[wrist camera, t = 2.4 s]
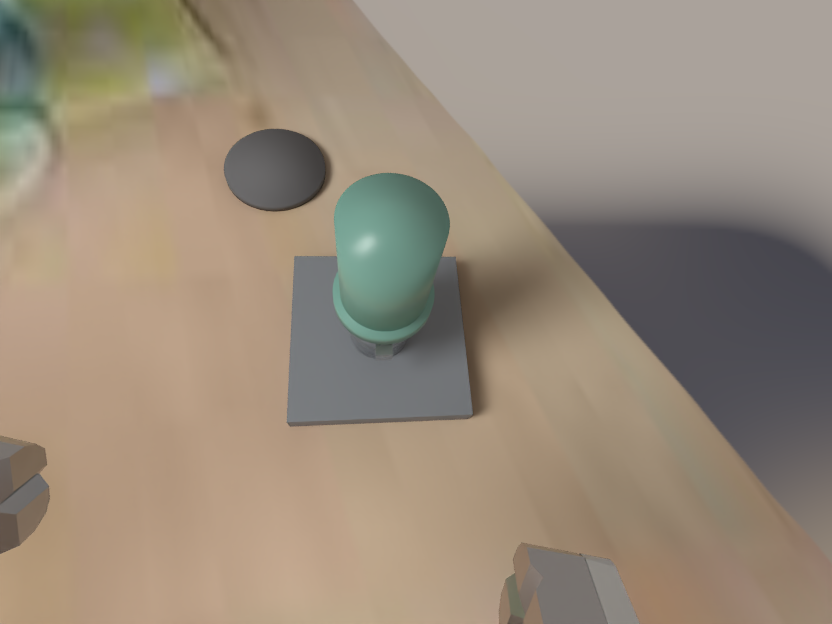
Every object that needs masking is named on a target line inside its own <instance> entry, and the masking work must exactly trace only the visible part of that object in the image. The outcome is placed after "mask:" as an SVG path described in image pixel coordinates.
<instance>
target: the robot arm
mask: <svg viewBox="0 0 832 624" xmlns="http://www.w3.org/2000/svg"><path fill="white" fill-rule="evenodd" d="M46 466H47V459H46V452H45V448H43V447H41V446H39V445H37V444H35V443H30V442H26V441H22V440H17V439H13V438H9V437H4V436H0V554H1V553H3V552H6V551H8V550H10V549H12V548H15V547H17V546H19V545H21V544H22V543H23V542H24V541H25V540H26V539H27V538H28V537H29V536H30V535H31V534H32V533H33V532H34V531H35V530H36V528H37V527H38V525H39V523H40V522H41V520H42V518H43V517H44V515H45V514H46V511H47V508H48V504H49V500H50V493H49V486H48V484H47V483H46V482H45V480H44V479H43V478H42V477H41V475H40V474H39V473H40V472H41V471H42V470H43V469H44V468H45V467H46ZM513 563H514V570H515V573H514V574H513V575H511V576H510V577H508V578H507V579H506V580H505V583H504V587H503V590H502V593H501V599H500V606H499V624H640V623H639V620H638V618H637V616H636V613H635V611H634V609H633V606H632V604H631V602H630V599H629V597H628V594H627V592H626V590H625V587H624V585H623V583H622V580H621V578H620V576H619V573H618V571H617V568H616V566H615V564H614V563H613V562H612V561H611V560H610V559H606V558H601V557H596V556H590V555H585V554H577V553H573V552H568V551H563V550H558V549H552V548H547V547H542V546H537V545H532V544H527V543H521V544H520V545H519V546H518V548H517V550H516V552H515V555H514V558H513Z"/></svg>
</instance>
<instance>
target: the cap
mask: <svg viewBox="0 0 832 624" xmlns="http://www.w3.org/2000/svg"><path fill="white" fill-rule="evenodd" d="M334 225H335V237H336V250H337V263H338V272H337V274H336V276H335V279H334V283H333V302H334V308H335V311H336V314H337V317H338V318H339V320H340V322H341V323H342V325H343V326H344V327H345V328H346V329H347V330H348V331H349V332H350V333H351V334H353V335H354V336H356V337H357V338H359V339H361V340H364V341H366V342H370V343H374V344H384V345H386V344H394V343H399V342H402V341H404V340H406V339H408V338H410V337H412V336H413V335H415V334H416V333H417V332H418V331H419V330H420V329H421V328H422V327H423V326H424V325H425V323H426V321H427V320H428V317H429V315H430V312H431V310H432V307H433V303H434V297H435V292H434V284H433V281H434V278H435V275H436V272H437V269H438V266H439V262H440V259H441V256H442V253H443V250H444V247H445V244H446V241H447V238H448V234H449V228H450V220H449V215H448V211H447V208H446V206H445V204H444V202H443V201H442V199H441V198H440V196H439V195H438V194H437V193H436V192H435V191H434V190H433V189H432V188H431V187H429V186H428V185H426V184H425V183H423V182H422V181H420V180H418V179H415V178H413V177H410V176H407V175H402V174H396V173H381V174H375V175H371V176H368V177H365V178H362V179H360V180H358V181H357V182H355V183H354V184H352V185H351V186H350V187H349V188H347V189H346V190H345V192H344V193H343V194H342V195H341V197H340V199H339V200H338V203H337V205H336V209H335V213H334Z"/></svg>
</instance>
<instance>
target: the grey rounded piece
mask: <svg viewBox="0 0 832 624" xmlns="http://www.w3.org/2000/svg"><path fill="white" fill-rule="evenodd" d="M350 334H351V333H350ZM351 339H352V342H353V344H354V346H355V347H356V349H357V350H358V351H359V352H361V353H362V354H363V355H365V356H367V357H370V358H374V359H375V361H378V360H392V357H393V356H394V355H395V354H397V353H398V352H399V351H400V350H401V349H402V348H403V347H404V345H405V343H406V341H407V339H406V340H404V341H402V342H399V343H394V344H386V345H384V344H374V343H370V342H366V341H364V340H361V339H359V338H357V337H356V336H354V335H353V334H351Z"/></svg>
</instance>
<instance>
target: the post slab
mask: <svg viewBox="0 0 832 624" xmlns="http://www.w3.org/2000/svg"><path fill="white" fill-rule="evenodd" d="M337 272H338V263H337V256H295V257H294V278H293V300H292V321H291V343H290V364H289V386H288V408H287V423H288V425H289V426H312V425H335V424H359V423H382V422H406V421H429V420H453V419H468V418H470V417H471V416H472V415H473V411H472V402H471V393H470V384H469V375H468V366H467V357H466V348H465V338H464V329H463V320H462V311H461V302H460V293H459V284H458V275H457V266H456V257H441V259H440V262H439V266H438V269H437V272H436V275H435V278H434V281H433V284H434V292H435V297H434V303H433V307H432V310H431V312H430V315H429V317H428V320H427V321H426V323H425V325H424V326H423V327H422V328H421V329H420V330H419V331H418V332H417V333H416V334H415V335H413V336H412V337H410V338H408V339H407V341H406V343H405V345H404V347H403V348H402V349H401V350H400V351H399V352H398V353H397V354H395V355H394V356H393V357H392V360H378V361H375V359H374V358H370V357H367V356H365V355H363V354H362V353H361V352H359V351H358V350H357V349H356V347H355V346H354V344H353V342H352V339H351V334H350V332H349V331H348V330H347V329H346V328H345V327H344V326H343V325H342V323H341V322H340V320H339V318H338V317H337V314H336V311H335V308H334V302H333V283H334V279H335V276H336V274H337Z"/></svg>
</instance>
